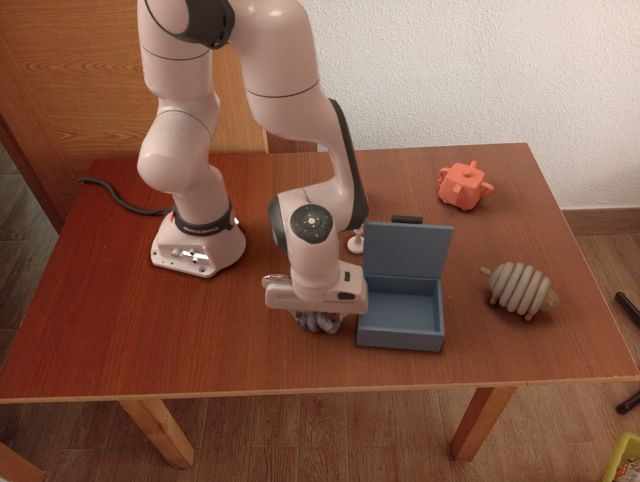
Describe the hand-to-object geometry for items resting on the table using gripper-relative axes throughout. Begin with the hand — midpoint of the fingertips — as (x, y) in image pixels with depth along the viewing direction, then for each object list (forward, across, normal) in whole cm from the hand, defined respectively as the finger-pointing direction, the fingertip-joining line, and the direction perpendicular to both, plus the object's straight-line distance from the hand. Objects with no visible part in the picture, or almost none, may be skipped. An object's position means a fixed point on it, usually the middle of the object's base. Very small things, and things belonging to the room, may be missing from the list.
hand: (318, 316), depth 99 cm
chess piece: (+4, +7, +22) cm, 24 cm away
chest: (+4, +17, +3) cm, 17 cm away
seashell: (+4, 0, 0) cm, 4 cm away
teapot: (+4, +33, +40) cm, 52 cm away
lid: (-11, +17, +10) cm, 22 cm away
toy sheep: (+4, +41, +9) cm, 42 cm away
